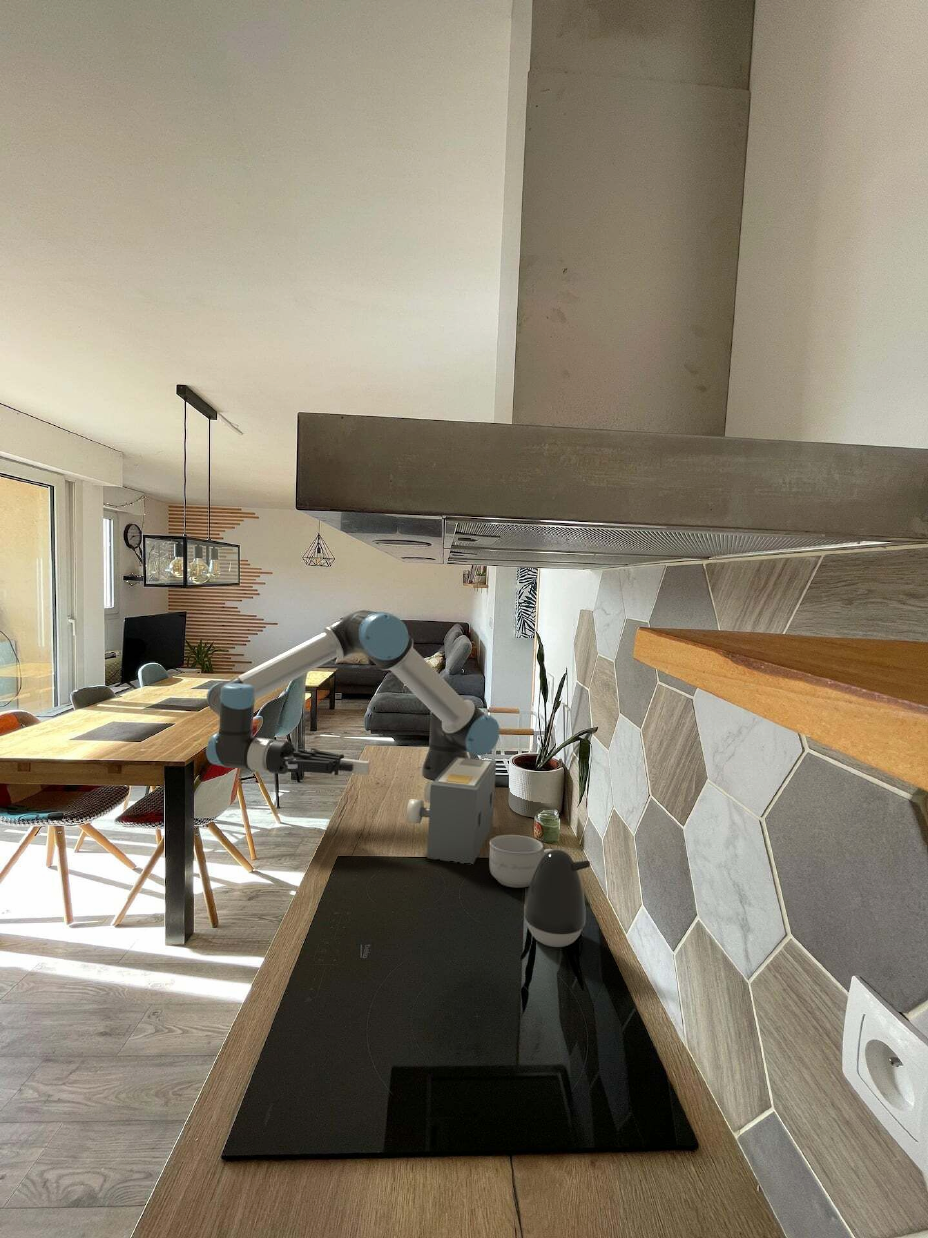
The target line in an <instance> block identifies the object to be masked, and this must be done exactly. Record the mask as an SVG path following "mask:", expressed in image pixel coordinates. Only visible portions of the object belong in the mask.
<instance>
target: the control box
mask: <svg viewBox="0 0 928 1238" xmlns="http://www.w3.org/2000/svg"><path fill="white" fill-rule="evenodd" d="M496 769H497V761H496V760H490V759H489V760H488V759H480V758H471V757H468V758H462V757H456V758H455V759H454V760H453V761H452V762H451V763H450V764H449V766H448V767H447V768H446V769H445V770H444V771H443V772H442V773H441V774H440V775H439V776H438V777H437V778H436V780H433V781H432V782H433V783H432V784H431V792H430V803H429V808H430V812H429V818H428V833H427V834H428V835H427V837H428V838H427V851H426V852H427V855H426V858H427V859H432V860H437V859H440V860H439V861H445V862H450V861H454V862H453V863H457V862H460V863H459V864H464V863H471V864H473V865H474V863H475V861H476V859H477V857H478V855H479V853H480V851H481V849H482V848H483V845H484V843H485V841H486V839H487V837H488V835H489V833H490V831H491V830H492V827H493V824H494V806H495V792H496V791H495V790H496ZM471 864H470V865H471Z"/></svg>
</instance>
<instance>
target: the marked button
mask: <svg viewBox="0 0 928 1238" xmlns="http://www.w3.org/2000/svg"><path fill="white" fill-rule="evenodd" d="M424 802H425V801H424V799H416V798H415V799H414V798H410V799H409V801H408V803H407V809H406V821H407V822H408V823H412V824H421V822H422V819H423V818H428V819H429V812H430V807H425V803H424Z"/></svg>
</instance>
